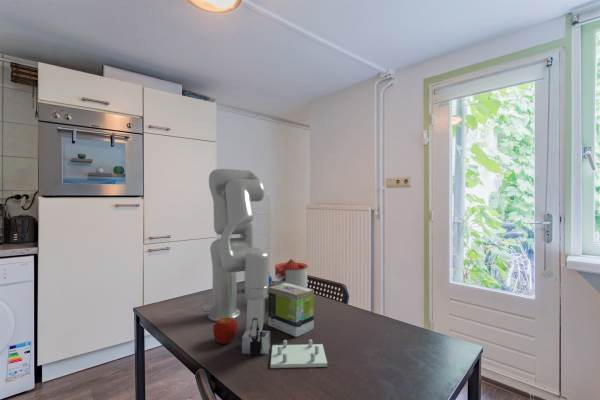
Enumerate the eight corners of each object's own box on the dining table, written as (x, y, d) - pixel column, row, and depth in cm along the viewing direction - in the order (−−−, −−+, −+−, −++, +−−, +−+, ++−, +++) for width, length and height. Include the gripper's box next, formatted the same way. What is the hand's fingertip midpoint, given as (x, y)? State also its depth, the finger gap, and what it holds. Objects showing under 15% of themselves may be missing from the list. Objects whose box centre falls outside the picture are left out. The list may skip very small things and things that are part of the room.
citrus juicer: (264, 303, 133) (264, 260, 134) (290, 294, 147) (290, 254, 147) (289, 311, 123) (289, 264, 124) (314, 301, 137) (314, 258, 137)
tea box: (314, 329, 107) (314, 288, 107) (295, 338, 99) (296, 295, 99) (286, 318, 117) (286, 281, 117) (267, 325, 109) (267, 286, 110)
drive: (241, 353, 89) (242, 337, 89) (245, 345, 94) (245, 330, 94) (267, 354, 89) (267, 337, 89) (270, 346, 94) (270, 330, 94)
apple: (211, 338, 99) (212, 315, 99) (235, 334, 102) (235, 312, 102) (214, 348, 92) (214, 324, 92) (239, 344, 95) (239, 320, 95)
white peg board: (270, 368, 81) (270, 357, 81) (272, 348, 92) (272, 338, 92) (327, 366, 82) (327, 355, 82) (322, 347, 93) (322, 337, 93)
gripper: (248, 283, 100) (248, 335, 100) (240, 300, 83) (240, 363, 83) (270, 283, 101) (270, 335, 100) (266, 300, 83) (266, 362, 83)
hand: (256, 347), depth 92 cm, fingers open, 6 cm apart
